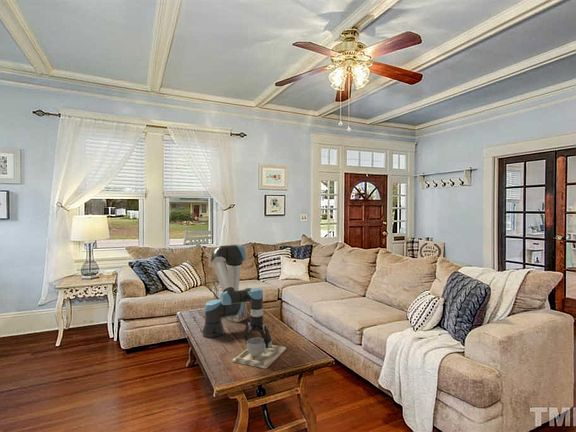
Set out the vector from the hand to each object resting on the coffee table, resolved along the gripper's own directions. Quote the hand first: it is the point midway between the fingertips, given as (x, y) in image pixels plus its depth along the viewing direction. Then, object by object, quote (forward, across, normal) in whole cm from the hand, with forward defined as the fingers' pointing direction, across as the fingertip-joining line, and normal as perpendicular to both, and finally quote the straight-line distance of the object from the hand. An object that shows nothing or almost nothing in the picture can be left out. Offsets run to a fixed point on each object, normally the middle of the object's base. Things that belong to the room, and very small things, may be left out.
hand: (257, 351), depth 197 cm
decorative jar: (+4, -49, +55) cm, 74 cm away
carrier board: (+4, 0, +4) cm, 5 cm away
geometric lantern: (+4, -68, +62) cm, 92 cm away
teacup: (+1, +1, 0) cm, 1 cm away
